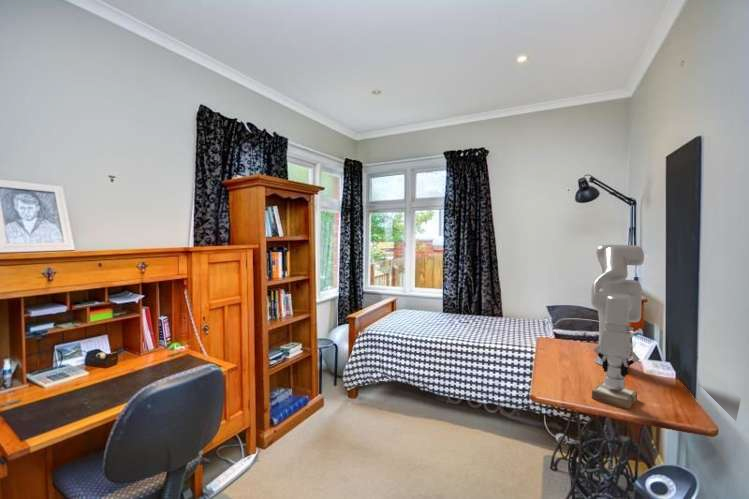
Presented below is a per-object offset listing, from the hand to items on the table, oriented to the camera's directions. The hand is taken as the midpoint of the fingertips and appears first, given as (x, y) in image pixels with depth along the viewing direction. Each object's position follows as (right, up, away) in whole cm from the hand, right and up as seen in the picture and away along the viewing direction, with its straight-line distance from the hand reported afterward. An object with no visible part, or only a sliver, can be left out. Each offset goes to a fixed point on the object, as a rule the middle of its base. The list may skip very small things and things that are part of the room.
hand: (615, 372), depth 138 cm
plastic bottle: (0, -7, 0) cm, 7 cm away
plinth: (0, -10, 0) cm, 10 cm away
